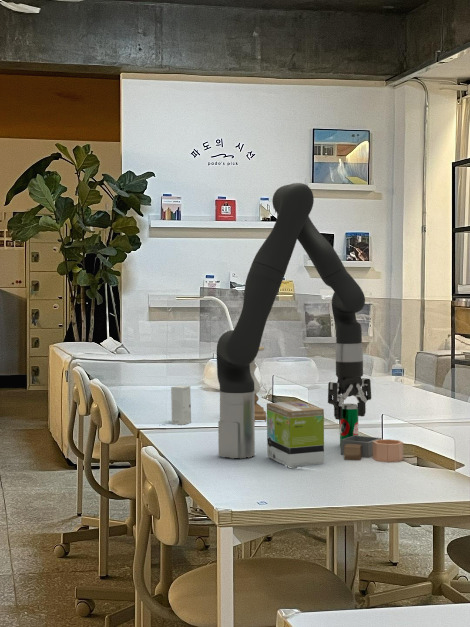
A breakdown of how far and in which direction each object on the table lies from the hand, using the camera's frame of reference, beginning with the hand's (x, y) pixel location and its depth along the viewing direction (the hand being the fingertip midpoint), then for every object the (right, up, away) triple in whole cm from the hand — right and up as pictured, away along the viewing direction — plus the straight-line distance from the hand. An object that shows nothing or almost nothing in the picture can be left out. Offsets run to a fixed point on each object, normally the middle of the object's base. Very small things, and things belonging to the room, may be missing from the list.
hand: (350, 417), depth 265 cm
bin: (+2, -9, -12) cm, 15 cm away
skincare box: (-49, -7, +44) cm, 66 cm away
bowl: (+7, -9, -19) cm, 22 cm away
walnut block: (-1, -9, -18) cm, 20 cm away
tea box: (-16, -10, -19) cm, 27 cm away
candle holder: (-27, -6, +52) cm, 59 cm away
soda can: (0, -9, 0) cm, 9 cm away
